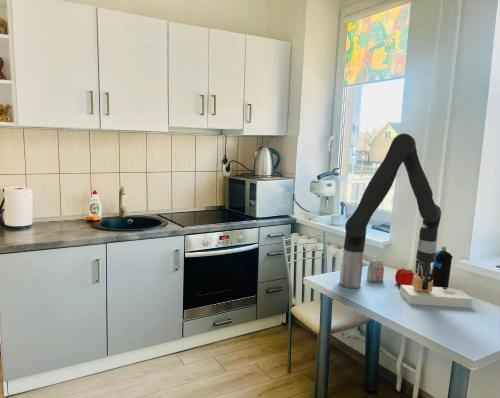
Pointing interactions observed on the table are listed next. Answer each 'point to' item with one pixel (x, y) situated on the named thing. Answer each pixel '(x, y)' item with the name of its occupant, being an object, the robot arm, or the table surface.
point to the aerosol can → (442, 268)
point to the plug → (419, 281)
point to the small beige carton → (375, 271)
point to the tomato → (404, 277)
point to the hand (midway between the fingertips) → (421, 286)
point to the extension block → (436, 296)
